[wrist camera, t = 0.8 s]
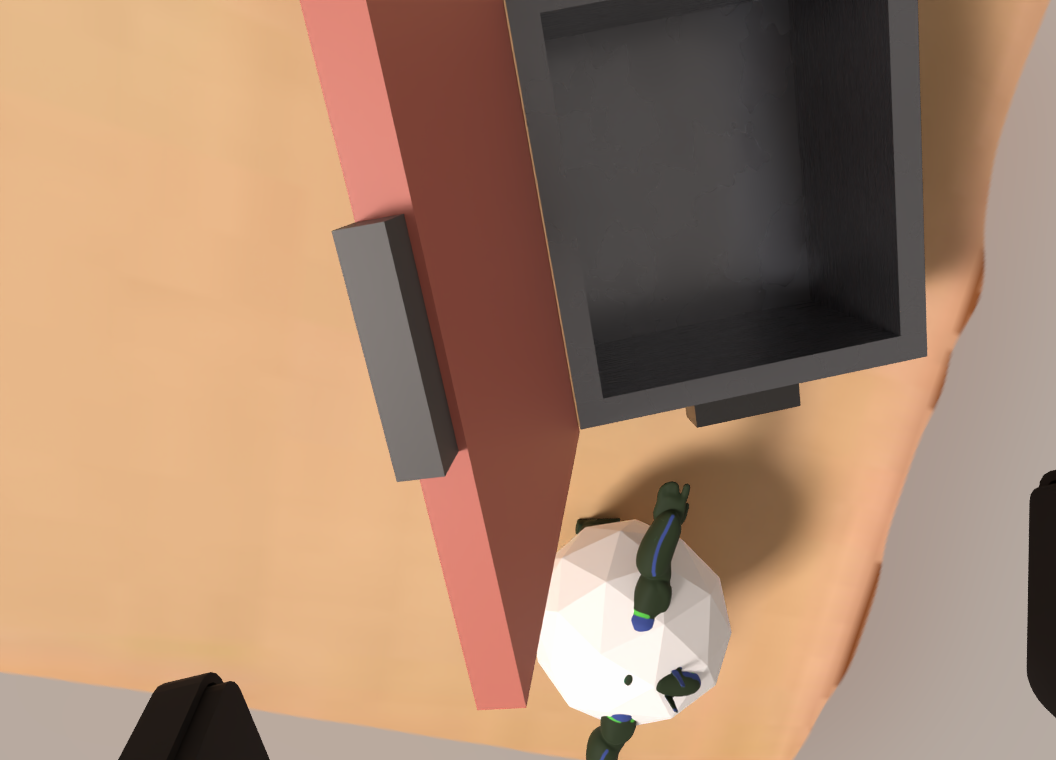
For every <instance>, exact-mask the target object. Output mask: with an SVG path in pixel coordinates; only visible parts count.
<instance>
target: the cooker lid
mask: <svg viewBox="0 0 1056 760" xmlns="http://www.w3.org/2000/svg"><path fill="white" fill-rule="evenodd" d="M300 3H301V7H302V11H303V15H304V19H305V23H306V27H307V31H308V35H309V39H310V43H311V47H312V51H313V55H314V59H315V63H316V67H317V71H318V75H319V79H320V83H321V87H322V91H323V95H324V99H325V103H326V107H327V111H328V115H329V119H330V123H331V127H332V131H333V135H334V139H335V143H336V147H337V151H338V155H339V159H340V163H341V167H342V171H343V175H344V179H345V183H346V187H347V191H348V195H349V199H350V203H351V207H352V211H353V215H354V219H355V223H352V224H350V225H347V226H344V227H341V228H339V229H336V230H333V231H332V234H333V238H334V242H335V246H336V250H337V254H338V257H339V261H340V265H341V269H342V273H343V277H344V280H345V284H346V288H347V292H348V296H349V300H350V303H351V307H352V311H353V315H354V319H355V323H356V326H357V330H358V334H359V338H360V342H361V346H362V350H363V353H364V357H365V361H366V365H367V369H368V373H369V376H370V380H371V384H372V388H373V392H374V396H375V399H376V403H377V407H378V411H379V415H380V419H381V422H382V426H383V430H384V434H385V438H386V442H387V445H388V449H389V453H390V457H391V461H392V465H393V468H394V472H395V476H396V480H397V482H401V481H410V480H419V479H420V483H421V487H422V491H423V495H424V499H425V503H426V507H427V511H428V515H429V519H430V523H431V527H432V531H433V535H434V539H435V543H436V547H437V551H438V555H439V559H440V563H441V567H442V571H443V575H444V579H445V582H446V586H447V590H448V594H449V598H450V602H451V606H452V610H453V614H454V618H455V622H456V626H457V630H458V634H459V638H460V642H461V646H462V650H463V654H464V658H465V662H466V666H467V670H468V674H469V678H470V682H471V686H472V690H473V694H474V698H475V702H476V706H477V710H489V709H510V708H526V706H527V701H528V696H529V690H530V685H531V680H532V675H533V670H534V665H535V659H536V654H537V649H538V644H539V639H540V634H541V629H542V623H543V618H544V613H545V608H546V603H547V598H548V593H549V587H550V582H551V577H552V572H553V567H554V562H555V557H556V551H557V546H558V541H559V536H560V531H561V526H562V520H563V515H564V510H565V505H566V500H567V495H568V490H569V484H570V479H571V474H572V469H573V464H574V459H575V454H576V448H577V443H578V438H579V433H580V431H579V426H578V420H577V414H576V409H575V403H574V397H573V392H572V386H571V380H570V375H569V369H568V363H567V358H566V352H565V346H564V341H563V335H562V329H561V324H560V318H559V312H558V307H557V301H556V296H555V290H554V284H553V279H552V273H551V267H550V262H549V256H548V250H547V245H546V239H545V233H544V228H543V222H542V216H541V211H540V205H539V199H538V194H537V188H536V182H535V177H534V171H533V165H532V160H531V154H530V148H529V143H528V137H527V131H526V126H525V120H524V114H523V109H522V103H521V97H520V92H519V86H518V80H517V75H516V69H515V63H514V58H513V52H512V46H511V41H510V35H509V29H508V24H507V18H506V13H505V7H504V1H503V0H300Z"/></svg>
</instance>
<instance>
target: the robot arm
mask: <svg viewBox="0 0 1056 760" xmlns="http://www.w3.org/2000/svg"><path fill="white" fill-rule="evenodd" d="M1029 511H1030V512H1029V567H1028V569H1029V571H1028V573H1029V574H1028V627H1027V628H1028V629H1027V676H1028V680H1029V683H1030V686H1031V688H1032V690H1033V692H1034V694H1035V695H1036V697H1037V698H1038V700H1039V701H1040V702H1041V703H1042V704H1043V705H1044V707H1045V708H1046V709H1047V710H1048V711H1049V712H1050V713H1051V714H1053V716H1055V717H1056V470H1053V471H1050V472H1048V473H1046V474H1045V475H1044V476H1043V478H1042V479H1041V481H1040V485H1039V487H1038V488H1036V489H1034V490H1033V492H1032V493H1031V496H1030V510H1029ZM118 760H270V759H269V757H268V755H267V752H266V750H265V747H264V745H263V743H262V740H261V738H260V735H259V733H258V731H257V728H256V726H255V724H254V721H253V719H252V716H251V714H250V711H249V709H248V707H247V704H246V702H245V699H244V697H243V695H242V692H241V690H240V688H239V687H238V685H237V684H236V683H235V682H232V681H229V682H225V683H223V681H222V679H221V678H220V677H219V676H218V675H217V674H216V673H212V672H210V673H205V674H201V675H197V676H193V677H189V678H185V679H180V680H176V681H172V682H168V683H164V684H162V685H160V686H158V687H157V689H156V690H155V691H154V693H153V694H152V697H151V698H150V700H149V702H148V704H147V706H146V708H145V710H144V712H143V713H142V715H141V717H140V719H139V721H138V723H137V725H136V727H135V729H134V731H133V733H132V735H131V736H130V738H129V740H128V743H127V744H126V746H125V748H124V750H123V752H122V754H121V756H120V757H119V759H118Z"/></svg>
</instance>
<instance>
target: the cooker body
mask: <svg viewBox="0 0 1056 760" xmlns="http://www.w3.org/2000/svg"><path fill="white" fill-rule="evenodd" d="M503 1H504V7H505V13H506V18H507V24H508V29H509V35H510V41H511V46H512V52H513V58H514V63H515V69H516V75H517V80H518V86H519V92H520V97H521V103H522V109H523V114H524V120H525V126H526V131H527V137H528V143H529V148H530V154H531V160H532V165H533V171H534V177H535V182H536V188H537V194H538V199H539V205H540V211H541V216H542V222H543V228H544V233H545V239H546V245H547V250H548V256H549V262H550V267H551V273H552V279H553V284H554V290H555V296H556V301H557V307H558V312H559V318H560V324H561V329H562V335H563V341H564V346H565V352H566V358H567V363H568V369H569V375H570V380H571V386H572V392H573V397H574V403H575V409H576V414H577V420H578V425H579V427H580V429H586V428H590V427H595V426H600V425H604V424H609V423H614V422H619V421H623V420H628V419H633V418H638V417H642V416H647V415H652V414H656V413H661V412H666V411H671V410H675V409H680V408H685V407H686V414H687V417H688V418H689V419H690V421H691V422H692V423H693V424H694V425H695V426H696V427H697V428H698V427H703V426H708V425H712V424H717V423H722V422H727V421H731V420H736V419H741V418H745V417H750V416H755V415H759V414H764V413H769V412H773V411H778V410H783V409H788V408H792V407H797V406H800V394H799V383H803V382H808V381H812V380H817V379H822V378H826V377H831V376H836V375H841V374H845V373H850V372H855V371H860V370H864V369H869V368H874V367H878V366H883V365H888V364H893V363H897V362H902V361H907V360H912V359H916V358H921V357H926V356H927V332H926V294H925V257H924V219H923V182H922V144H921V107H920V69H919V32H918V0H503Z"/></svg>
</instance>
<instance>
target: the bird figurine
mask: <svg viewBox="0 0 1056 760" xmlns="http://www.w3.org/2000/svg"><path fill="white" fill-rule="evenodd" d="M689 491H690V485H689V484H685V485H684V487H683V490H682V493H681V494H680V492H679V485H678V484H677V483H676V482H673V481H672V482H668V483H665V484H664V485H662V486H661V488H660V489H659V492H658V495H657V502H656V505H655V508H654V511H653V516H654V522H653V523H652V525H651V526H650V525H648V524H646V523H643V522H641V521H639V520H636V519H634V520H627V521H621V522H620V519H619V518H617V519H597V520H596V519H590V520H578V521H577V524H576V534H577V535H576V536H575V537H574V538H573V539H571V540H570V541H569V542H568V543H567V544H566V545H565V546H563V547H562V548H561V549H560V550H559V551H558V552H557V553H556V557H555V562H554V567H553V572H552V577H551V582H550V587H549V593H548V598H547V603H546V608H545V613H544V618H543V623H542V629H541V634H540V639H539V644H538V649H537V658H538V662H539V664H540V665H541V666H542V668H543V669H544V671H545V672H546V674H547V675H548V677H549V678H550V679H551V681H552V682H553V684H554V685H555V687H556V688H557V689H558V691H559V692H560V694H561V695H562V697H563V698H564V699H565V701H566V702H567V704H568V705H569V706H570V707H572V708H574V709H577V710H579V711H581V712H584V713H586V714H588V715H591V716H593V717H595V718H598V719H600V720H601V726H599V727H597V728H596V729H595V730H594V731H593V732H592V733H591V735H590V737H589V740H588V744H587V750H586V760H618V754H619V752H620V750H621V748H622V747H623V746H624V744H625V742H627V741H628V740H629V739H630V738H631V737H632V735H633V733H634V731H635V728H636V725H640V724H645V723H651V722H656V721H661V720H666V719H671V718H673V717H674V716H675V715H677V714H678V713H679V712H681V711H682V710H683V709H685V708H686V707H687V706H689V705H690V704H691V703H693V702H694V701H695V700H696V699H698V698H699V697H700V696H702V695H703V694H704V693H706V692H707V691H708V690H710V689H711V688H712V687H714V686H715V685H716V682H717V679H718V675H719V672H720V669H721V665H722V662H723V659H724V655H725V652H726V649H727V645H728V642H729V639H730V635H731V628H730V623H729V618H728V614H727V609H726V604H725V600H724V595H723V591H722V586H721V581H720V578H719V577H718V576H717V574H716V573H715V572H714V571H713V570H712V569H711V568H710V567H709V566H708V565H707V564H706V563H705V562H704V561H703V560H702V559H701V558H700V557H699V556H698V555H697V554H696V553H695V552H694V551H693V550H692V549H691V548H690V547H689V546H688V545H687V544H686V543H685V542H684V541H683V540H682V539H680V533H681V525H682V524H683V522H684V521H685V519H686V516H687V512H688V509H689V504H688V503H686V501H687V498H688V495H689Z"/></svg>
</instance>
